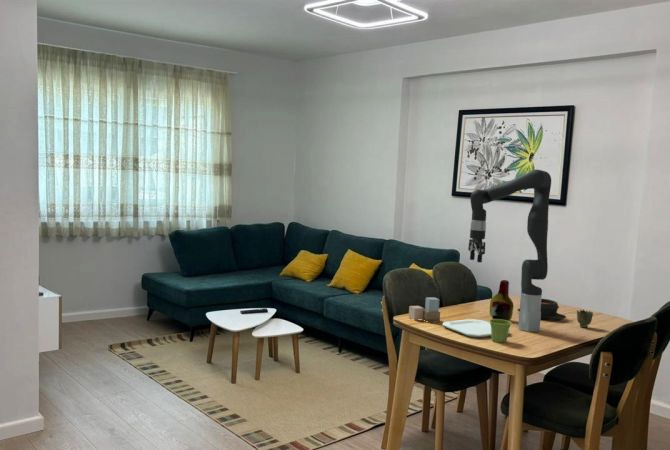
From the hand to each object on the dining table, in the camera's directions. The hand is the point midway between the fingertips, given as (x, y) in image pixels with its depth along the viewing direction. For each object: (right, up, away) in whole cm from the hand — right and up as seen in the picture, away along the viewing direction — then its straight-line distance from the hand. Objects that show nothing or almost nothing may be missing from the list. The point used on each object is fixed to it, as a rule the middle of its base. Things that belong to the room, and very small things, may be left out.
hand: (475, 261), depth 308 cm
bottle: (+12, -29, -3) cm, 32 cm away
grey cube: (-25, -23, -14) cm, 37 cm away
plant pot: (0, -32, -45) cm, 56 cm away
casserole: (+36, -30, +8) cm, 47 cm away
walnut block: (-25, -28, -14) cm, 40 cm away
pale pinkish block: (-32, -28, -12) cm, 44 cm away
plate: (-7, -31, -29) cm, 43 cm away
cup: (+50, -32, -11) cm, 61 cm away
